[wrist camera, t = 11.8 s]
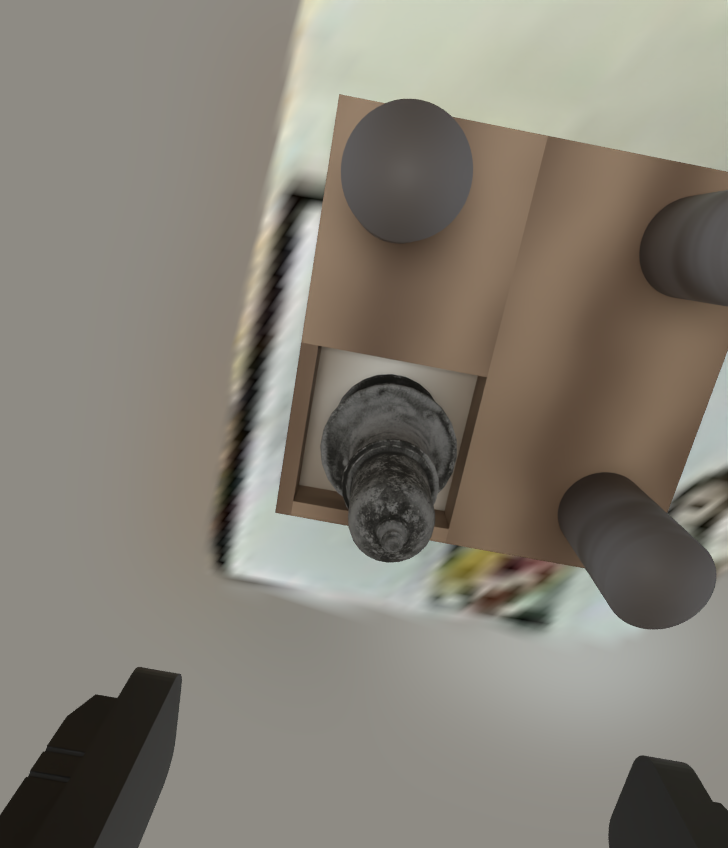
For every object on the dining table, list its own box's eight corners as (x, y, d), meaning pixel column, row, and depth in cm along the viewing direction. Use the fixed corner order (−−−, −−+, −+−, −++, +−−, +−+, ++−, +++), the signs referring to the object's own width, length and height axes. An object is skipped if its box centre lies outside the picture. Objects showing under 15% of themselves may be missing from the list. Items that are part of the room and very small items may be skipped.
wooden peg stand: (743, 191, 26) (927, 162, 17) (618, 547, 31) (710, 663, 22) (343, 111, 25) (325, 41, 17) (285, 487, 30) (247, 582, 22)
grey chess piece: (466, 391, 28) (528, 491, 16) (422, 498, 29) (450, 658, 18) (349, 350, 27) (327, 424, 16) (312, 461, 29) (266, 601, 17)
